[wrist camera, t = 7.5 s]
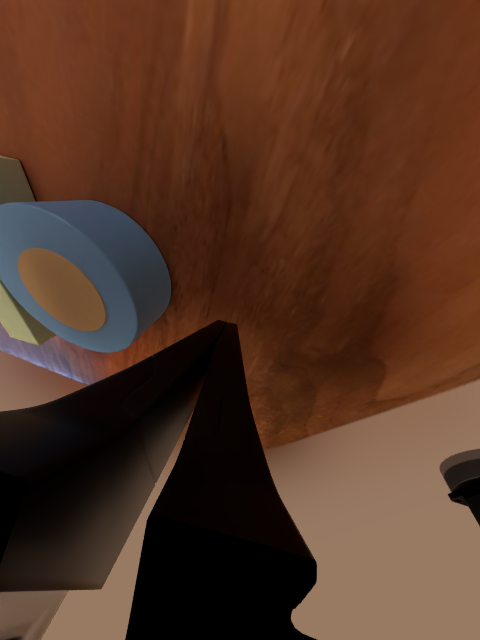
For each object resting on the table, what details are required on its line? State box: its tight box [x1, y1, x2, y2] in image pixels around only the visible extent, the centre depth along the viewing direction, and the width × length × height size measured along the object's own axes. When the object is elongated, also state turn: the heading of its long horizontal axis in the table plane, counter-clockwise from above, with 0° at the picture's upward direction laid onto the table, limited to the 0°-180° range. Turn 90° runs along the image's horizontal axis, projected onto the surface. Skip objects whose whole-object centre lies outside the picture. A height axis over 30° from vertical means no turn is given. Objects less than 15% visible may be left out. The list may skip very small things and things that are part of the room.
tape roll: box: [0, 200, 171, 353], centre depth 10 cm, size 7×7×3 cm
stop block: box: [0, 156, 57, 345], centre depth 10 cm, size 2×9×3 cm, turn 171°
